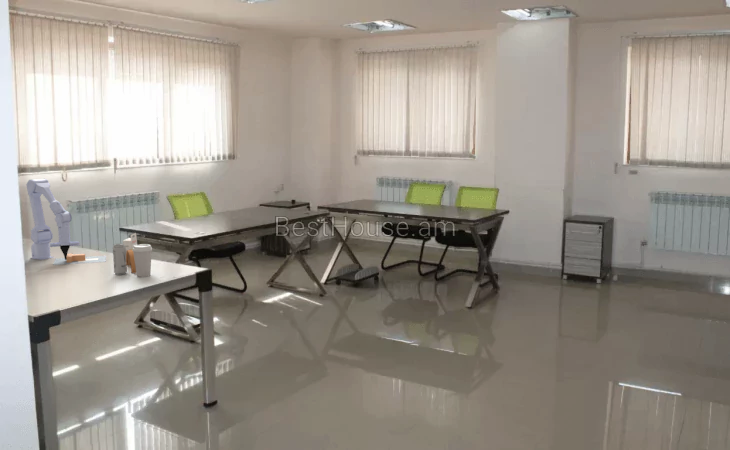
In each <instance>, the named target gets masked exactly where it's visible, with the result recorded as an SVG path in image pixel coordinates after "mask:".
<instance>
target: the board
mask: <svg viewBox="0 0 730 450" xmlns="http://www.w3.org/2000/svg"><path fill="white" fill-rule="evenodd" d="M106 262H107V255H94V256H93V255H92V256H85V260H83V261H72V262H69V263H67V260H65V257H60V258H57V257H55V259H54V262H53V263H52V266H60V265H62V266H63V265H74V264H75V265H76V264H90V263H91V264H94V263H106Z"/></svg>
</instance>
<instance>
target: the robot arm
mask: <svg viewBox="0 0 730 450" xmlns="http://www.w3.org/2000/svg"><path fill="white" fill-rule="evenodd" d="M25 185H26V191H27V195H28V197H29V202H30V207H31V213H32V218H33V222H34V223H33V224H34V226H33V227H32V229H30V232H31V234H30V239H31V241H32V242H33V243H32V244H31V247H30V248H31V251H30V252H31V259H35V260H41V261H42V260H43V261H44V260H48V259H51V258H53V259H54V256H51V248H53V247H54V248H55V247H60V251H61V253H62V254H63V256H64V257H63V258H65V260H67V258H66V257H67V254H69V253H68V252H69V250H70V247H73V246H74V247H75V246H81V244H80V241H72V240H71V227H70V225H71V224H70V223H71V222H72V219H73V217H72V214H71V212H70V211H67V210H65V207H64V206H63V205H62V203H61V202H60V201H59V200H56V198H55V195H54V194H53V192H52V190H51V183H50V181H49V180H48V179H47V178H38V179H37V178H36V179H28V181H27V182H26V184H25ZM42 195H43V197H44V198H45V199H46V200H47V201H48V203H49V208H50V210H51V211H52V213H53V215H54V216H55V217H54V221H55V222H56V227H57V229H58V230H57V232H58V242H52V240H53V237H54V235H53V232H52V229H51V227H50V226H49V225H47V224H46V221H45V215H44V211H43V204H42V201H41V200H42V199H41V196H42Z"/></svg>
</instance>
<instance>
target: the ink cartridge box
mask: <svg viewBox="0 0 730 450" xmlns="http://www.w3.org/2000/svg"><path fill="white" fill-rule="evenodd" d="M122 243H123V244H124V245H125V247H126V252H127V250H132V249H133V247H134V246H135V245H138V237H137V233H136V232H134V233H132V234H130V237H128V238H125V239H123V240H122Z"/></svg>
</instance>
